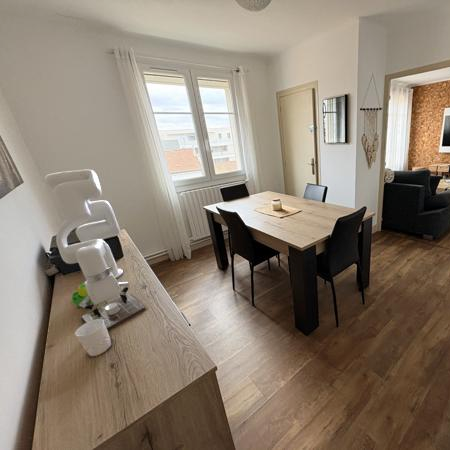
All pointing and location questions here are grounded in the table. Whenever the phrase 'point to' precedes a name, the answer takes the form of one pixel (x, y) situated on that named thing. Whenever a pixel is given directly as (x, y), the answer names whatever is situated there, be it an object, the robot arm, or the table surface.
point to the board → (122, 315)
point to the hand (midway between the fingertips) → (112, 308)
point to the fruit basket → (80, 295)
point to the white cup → (94, 337)
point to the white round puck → (112, 308)
